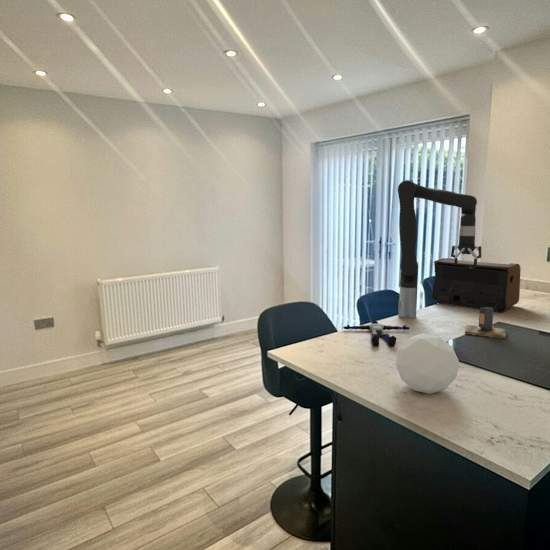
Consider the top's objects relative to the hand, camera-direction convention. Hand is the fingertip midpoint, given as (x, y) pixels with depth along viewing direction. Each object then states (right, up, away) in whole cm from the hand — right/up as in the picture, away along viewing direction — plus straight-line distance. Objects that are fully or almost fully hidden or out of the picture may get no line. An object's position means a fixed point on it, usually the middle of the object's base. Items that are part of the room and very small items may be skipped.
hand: (465, 265), depth 208 cm
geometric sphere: (-49, -44, -74) cm, 99 cm away
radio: (+22, -24, +38) cm, 50 cm away
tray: (+2, -33, -16) cm, 37 cm away
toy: (-50, -35, -17) cm, 64 cm away
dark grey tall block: (+2, -32, -16) cm, 35 cm away
